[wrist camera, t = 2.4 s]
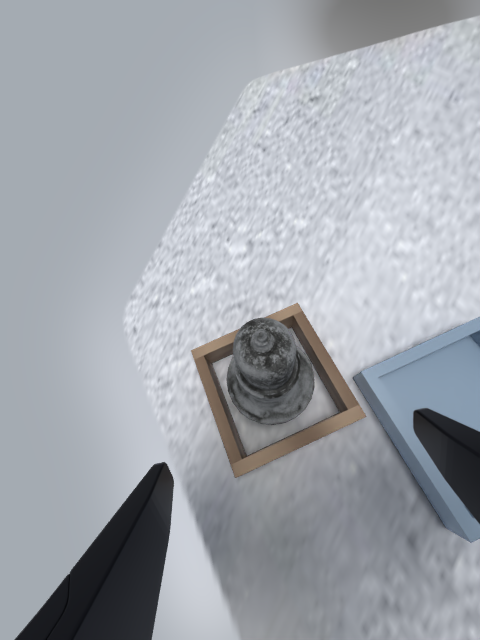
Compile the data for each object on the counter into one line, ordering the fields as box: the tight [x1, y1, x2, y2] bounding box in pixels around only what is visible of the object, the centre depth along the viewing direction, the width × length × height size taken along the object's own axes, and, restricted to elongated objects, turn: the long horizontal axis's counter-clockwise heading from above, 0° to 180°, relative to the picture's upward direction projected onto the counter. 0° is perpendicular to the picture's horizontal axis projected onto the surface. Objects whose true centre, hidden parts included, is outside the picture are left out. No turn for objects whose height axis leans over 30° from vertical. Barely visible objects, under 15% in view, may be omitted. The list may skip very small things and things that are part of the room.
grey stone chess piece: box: [227, 318, 314, 425], centre depth 15 cm, size 6×6×12 cm
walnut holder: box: [191, 303, 366, 478], centre depth 19 cm, size 9×9×2 cm
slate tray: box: [353, 317, 480, 543], centre depth 17 cm, size 10×10×2 cm
